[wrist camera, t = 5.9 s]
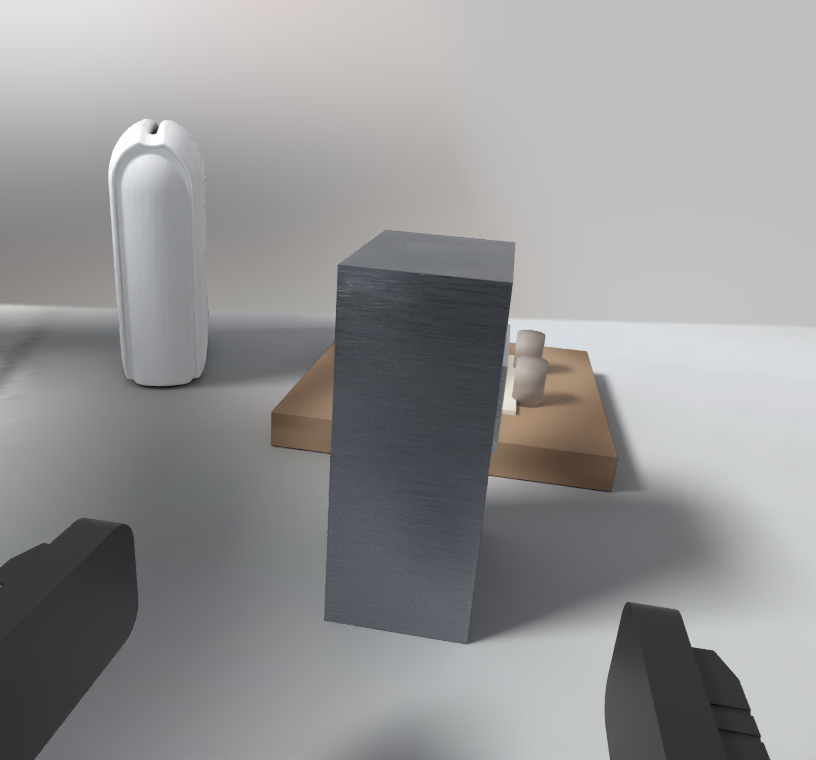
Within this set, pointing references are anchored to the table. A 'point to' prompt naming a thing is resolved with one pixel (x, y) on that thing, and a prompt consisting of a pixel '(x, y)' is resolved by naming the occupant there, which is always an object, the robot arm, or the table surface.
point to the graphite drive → (414, 428)
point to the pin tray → (520, 422)
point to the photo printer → (160, 253)
